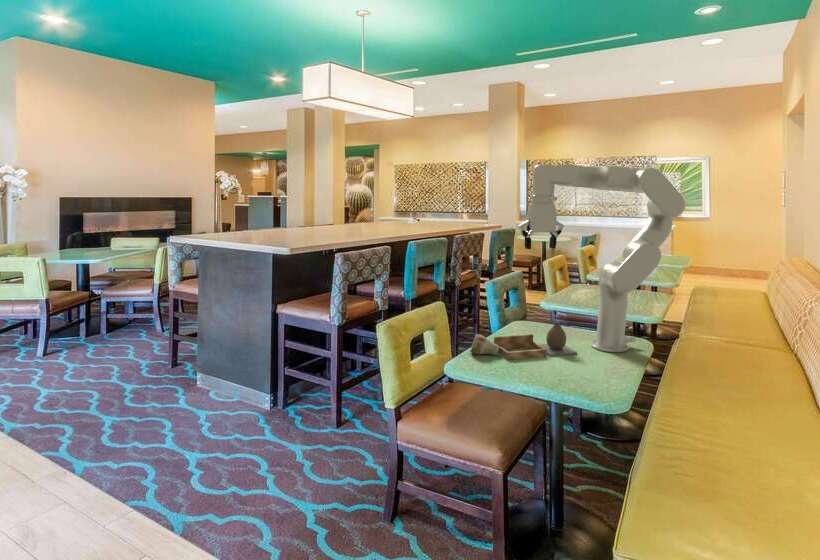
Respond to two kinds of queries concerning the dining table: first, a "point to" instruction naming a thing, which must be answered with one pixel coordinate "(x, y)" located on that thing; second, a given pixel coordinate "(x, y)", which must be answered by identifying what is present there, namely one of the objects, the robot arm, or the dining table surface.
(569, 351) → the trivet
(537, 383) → the dining table surface
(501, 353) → the wooden frame
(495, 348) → the mug
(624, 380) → the dining table surface
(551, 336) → the vase
